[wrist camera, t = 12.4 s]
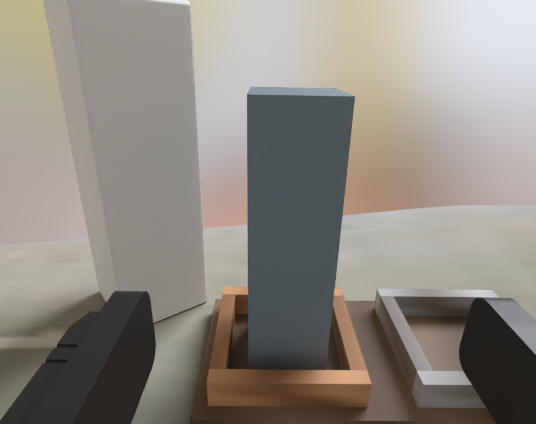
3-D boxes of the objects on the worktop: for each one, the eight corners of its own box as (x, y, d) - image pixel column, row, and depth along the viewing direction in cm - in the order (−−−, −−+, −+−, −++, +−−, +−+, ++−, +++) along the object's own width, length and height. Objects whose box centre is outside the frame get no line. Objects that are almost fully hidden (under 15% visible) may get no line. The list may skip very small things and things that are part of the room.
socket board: (487, 314, 25) (496, 284, 25) (594, 437, 17) (614, 398, 16) (216, 311, 25) (214, 280, 24) (191, 434, 17) (188, 395, 16)
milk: (98, 292, 27) (26, -67, 19) (174, 266, 31) (142, -46, 22) (124, 337, 23) (45, -105, 14) (210, 302, 26) (187, -72, 18)
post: (315, 325, 23) (335, 88, 17) (325, 377, 19) (354, 96, 13) (250, 324, 23) (251, 86, 17) (248, 376, 19) (247, 94, 13)
